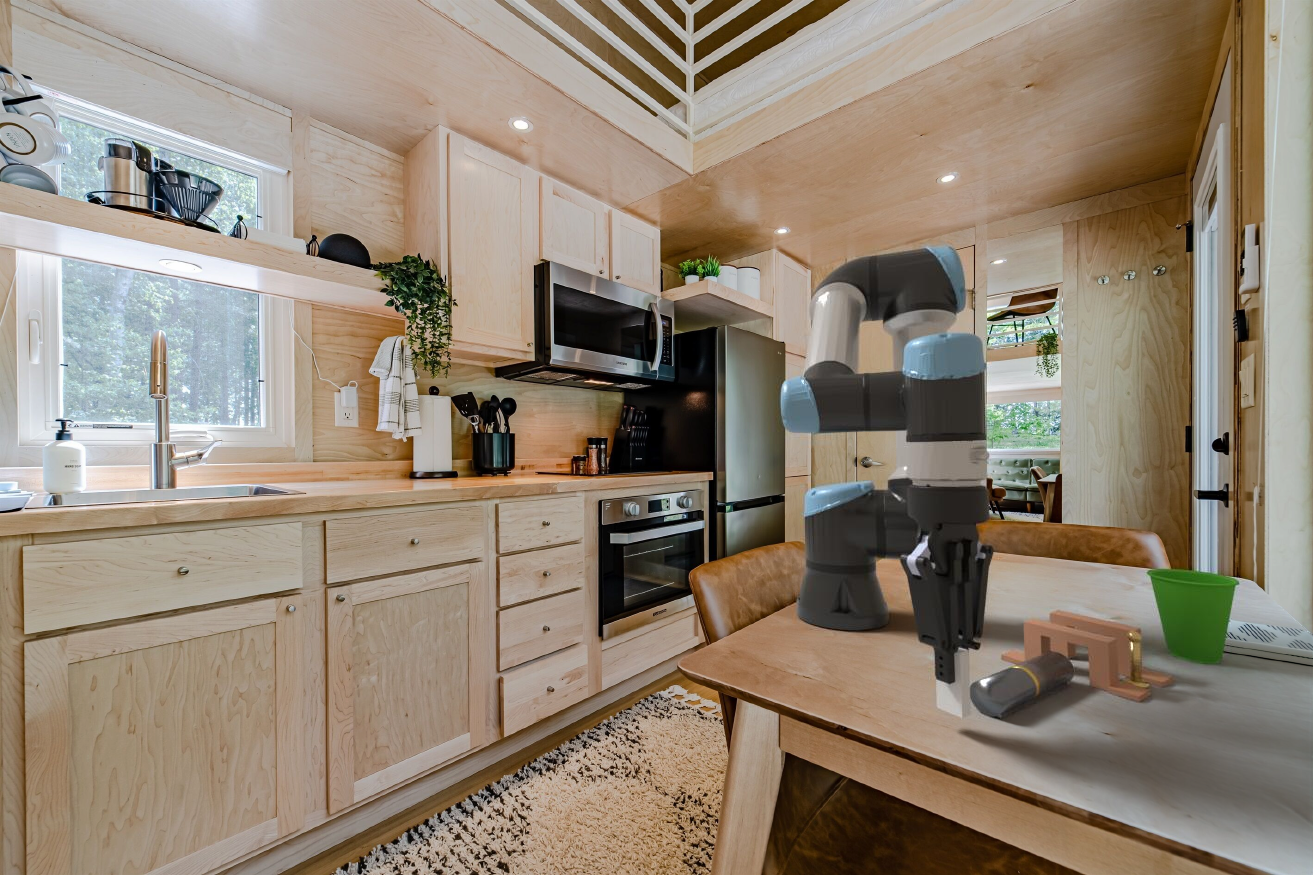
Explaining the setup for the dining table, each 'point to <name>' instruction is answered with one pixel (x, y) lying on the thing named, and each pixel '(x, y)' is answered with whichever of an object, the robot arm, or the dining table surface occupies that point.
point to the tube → (1021, 684)
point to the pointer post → (1135, 661)
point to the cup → (1194, 612)
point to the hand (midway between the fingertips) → (953, 710)
